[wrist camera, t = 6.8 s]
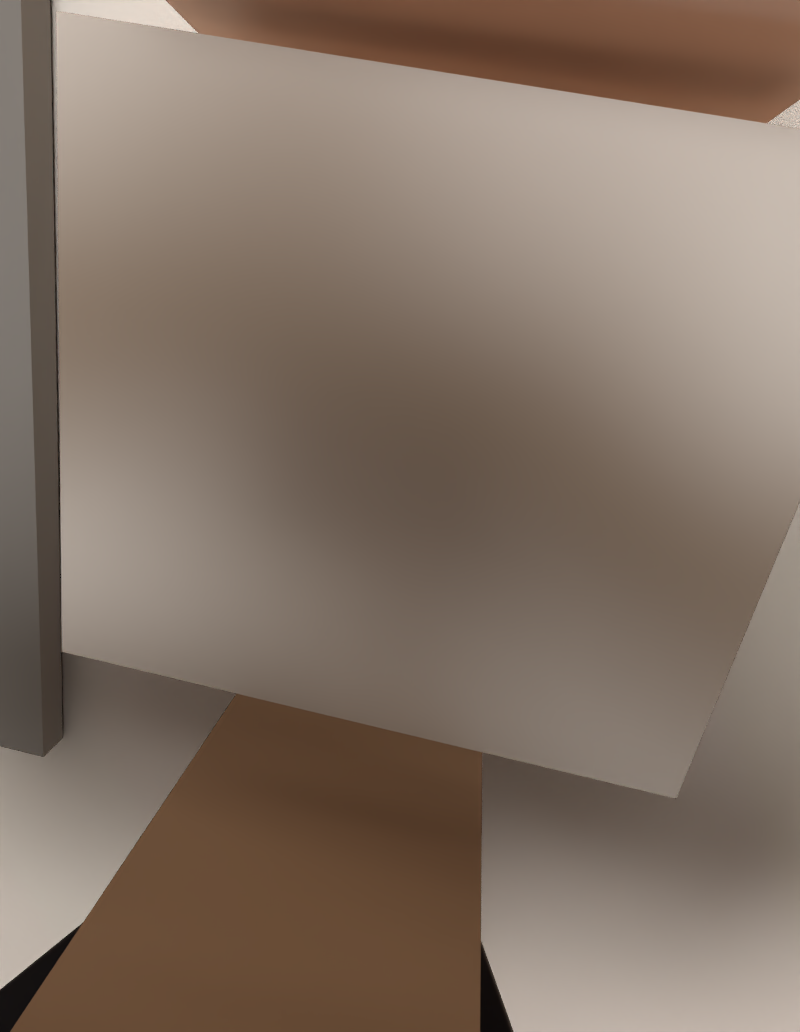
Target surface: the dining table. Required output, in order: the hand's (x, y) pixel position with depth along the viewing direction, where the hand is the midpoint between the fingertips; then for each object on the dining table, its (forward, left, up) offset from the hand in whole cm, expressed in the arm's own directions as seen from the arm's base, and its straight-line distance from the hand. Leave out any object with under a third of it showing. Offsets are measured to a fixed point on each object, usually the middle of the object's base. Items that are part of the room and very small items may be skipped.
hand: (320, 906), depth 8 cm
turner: (0, +1, -1) cm, 2 cm away
